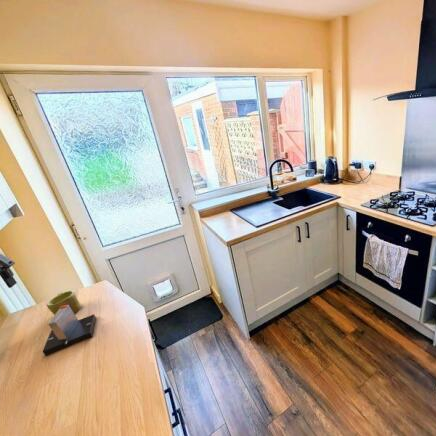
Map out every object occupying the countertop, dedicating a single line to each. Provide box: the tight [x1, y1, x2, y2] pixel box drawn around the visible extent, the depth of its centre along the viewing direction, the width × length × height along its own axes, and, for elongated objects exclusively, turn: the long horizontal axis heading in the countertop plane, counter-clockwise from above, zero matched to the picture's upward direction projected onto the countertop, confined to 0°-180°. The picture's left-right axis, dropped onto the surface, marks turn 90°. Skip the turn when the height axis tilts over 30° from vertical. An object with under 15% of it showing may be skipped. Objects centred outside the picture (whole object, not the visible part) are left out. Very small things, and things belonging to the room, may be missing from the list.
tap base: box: [42, 314, 98, 357], centre depth 94 cm, size 14×13×3 cm
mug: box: [46, 290, 82, 316], centre depth 107 cm, size 12×10×10 cm
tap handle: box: [47, 305, 79, 342], centre depth 92 cm, size 9×2×9 cm, turn 17°
